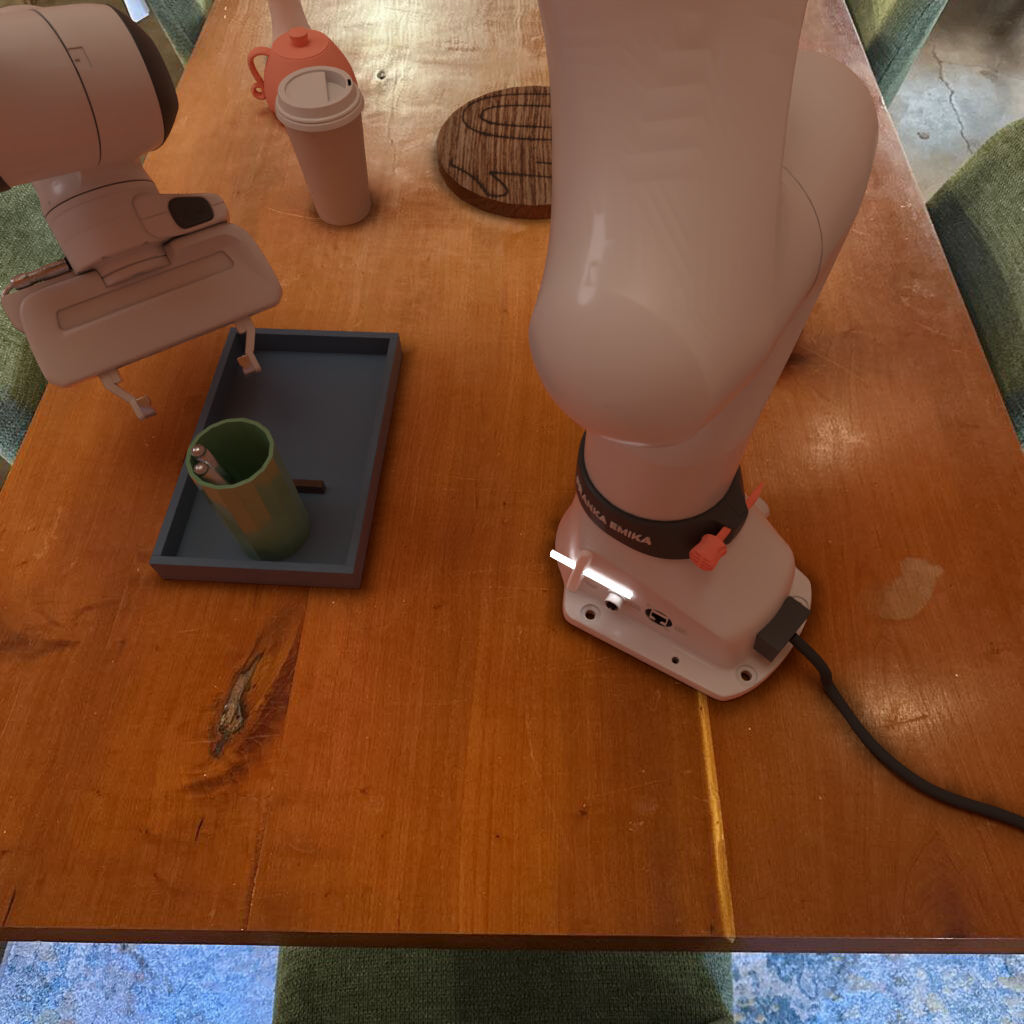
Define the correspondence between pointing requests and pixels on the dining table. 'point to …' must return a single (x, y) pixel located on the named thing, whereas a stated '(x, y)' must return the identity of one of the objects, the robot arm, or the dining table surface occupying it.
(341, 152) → the coffee cup
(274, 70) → the sugar bowl
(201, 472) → the ball-tipped brown rod
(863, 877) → the dining table surface
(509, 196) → the trivet
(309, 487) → the bar
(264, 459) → the green cup
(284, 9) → the vase
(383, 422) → the tray
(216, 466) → the tong
